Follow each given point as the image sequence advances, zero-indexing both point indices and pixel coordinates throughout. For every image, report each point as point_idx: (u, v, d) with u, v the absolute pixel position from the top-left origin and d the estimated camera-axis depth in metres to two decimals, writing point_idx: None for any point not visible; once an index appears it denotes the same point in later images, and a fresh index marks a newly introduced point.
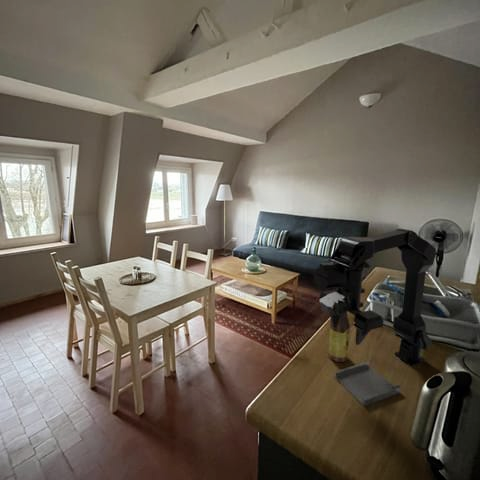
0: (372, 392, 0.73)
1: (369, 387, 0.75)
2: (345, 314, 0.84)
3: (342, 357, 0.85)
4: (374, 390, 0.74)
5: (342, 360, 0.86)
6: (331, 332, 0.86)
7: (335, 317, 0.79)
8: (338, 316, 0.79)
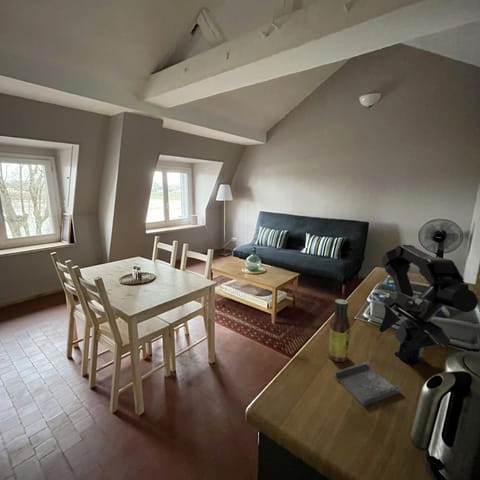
0: (372, 392, 0.73)
1: (369, 387, 0.75)
2: (345, 314, 0.84)
3: (342, 357, 0.85)
4: (374, 390, 0.74)
5: (342, 360, 0.86)
6: (331, 332, 0.86)
7: (388, 323, 0.79)
8: (389, 325, 0.79)
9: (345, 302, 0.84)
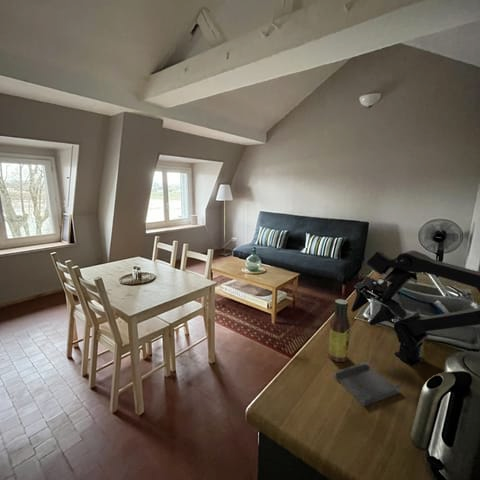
0: (372, 392, 0.73)
1: (369, 387, 0.75)
2: (345, 314, 0.84)
3: (342, 357, 0.85)
4: (374, 390, 0.74)
5: (342, 360, 0.86)
6: (331, 332, 0.86)
7: (358, 304, 0.92)
8: (360, 306, 0.92)
9: (345, 302, 0.84)
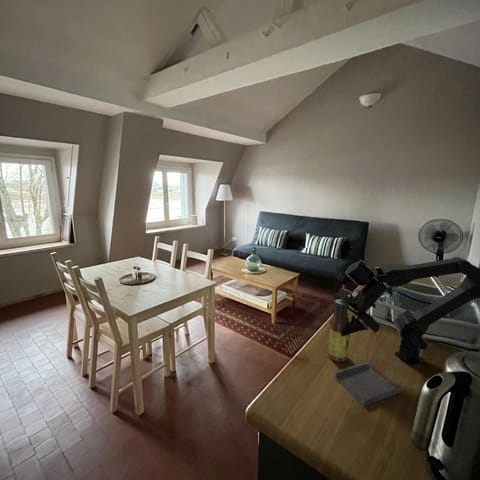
0: (372, 392, 0.73)
1: (369, 387, 0.75)
2: (345, 314, 0.84)
3: (342, 357, 0.85)
4: (374, 390, 0.74)
5: (342, 360, 0.86)
6: (331, 332, 0.86)
7: None
8: None
9: (345, 302, 0.84)
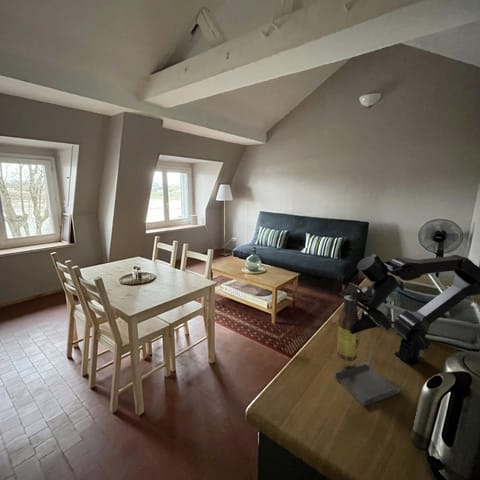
0: (372, 392, 0.73)
1: (369, 387, 0.75)
2: (355, 311, 0.80)
3: (351, 356, 0.81)
4: (374, 390, 0.74)
5: (351, 359, 0.81)
6: (340, 330, 0.82)
7: None
8: None
9: (355, 298, 0.80)
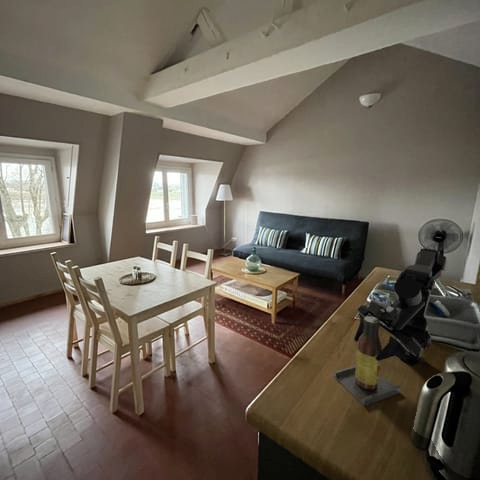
0: (372, 392, 0.73)
1: None
2: (376, 334, 0.72)
3: (372, 384, 0.73)
4: (374, 390, 0.74)
5: (372, 388, 0.73)
6: (359, 355, 0.74)
7: (362, 332, 0.78)
8: None
9: (376, 320, 0.72)
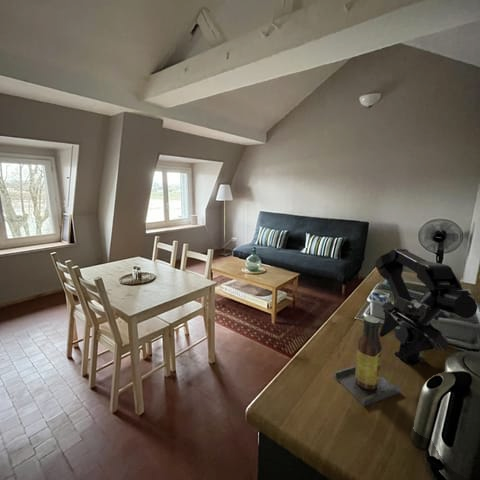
0: (372, 392, 0.73)
1: None
2: (376, 334, 0.72)
3: (372, 384, 0.73)
4: (374, 390, 0.74)
5: (372, 388, 0.73)
6: (359, 355, 0.74)
7: (387, 328, 0.81)
8: (389, 330, 0.81)
9: (376, 320, 0.72)
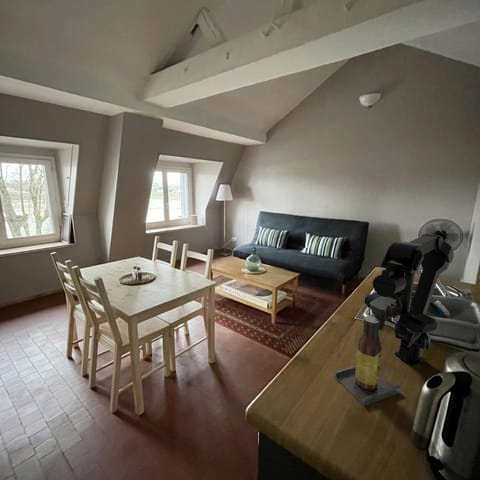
0: (372, 392, 0.73)
1: None
2: (376, 334, 0.72)
3: (372, 384, 0.73)
4: (374, 390, 0.74)
5: (372, 388, 0.73)
6: (359, 355, 0.74)
7: (381, 319, 0.81)
8: (384, 319, 0.81)
9: (376, 320, 0.72)
